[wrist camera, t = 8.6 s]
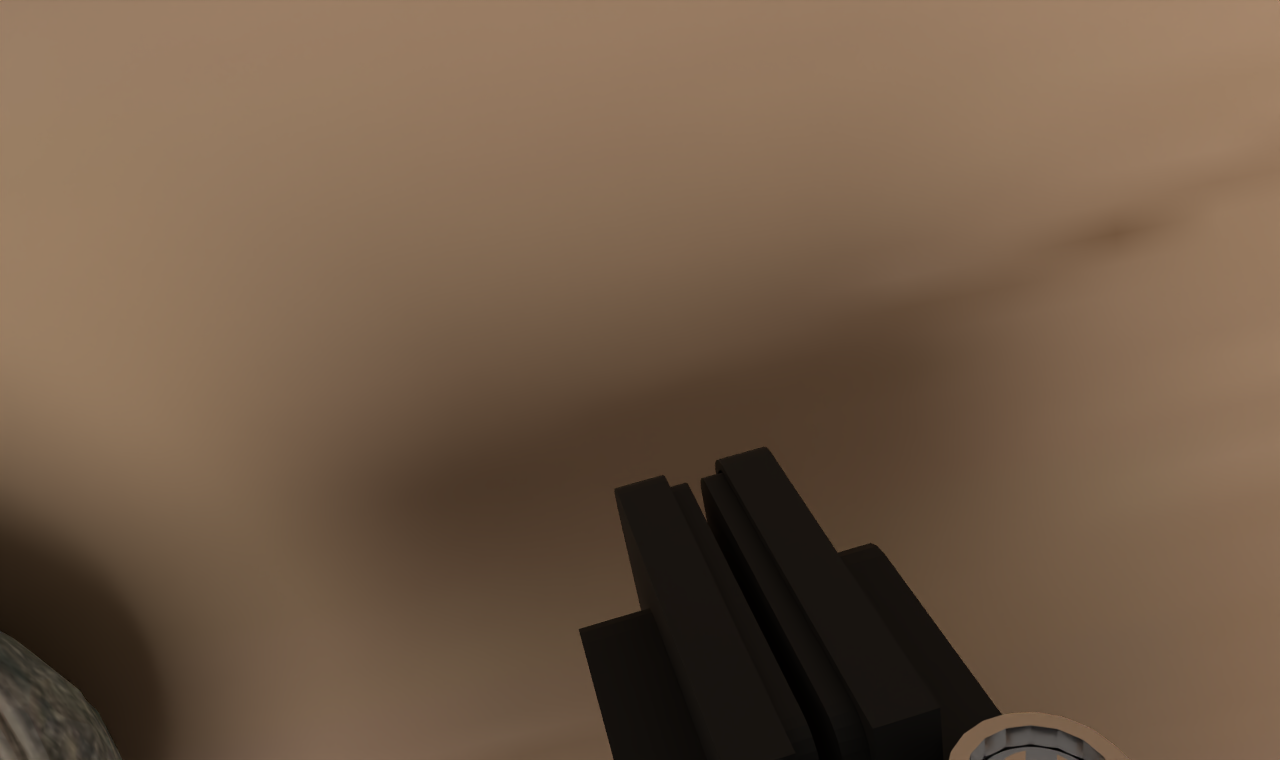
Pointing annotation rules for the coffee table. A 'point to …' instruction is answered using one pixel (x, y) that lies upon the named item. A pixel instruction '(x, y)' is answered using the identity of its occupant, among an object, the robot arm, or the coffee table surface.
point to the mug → (45, 712)
